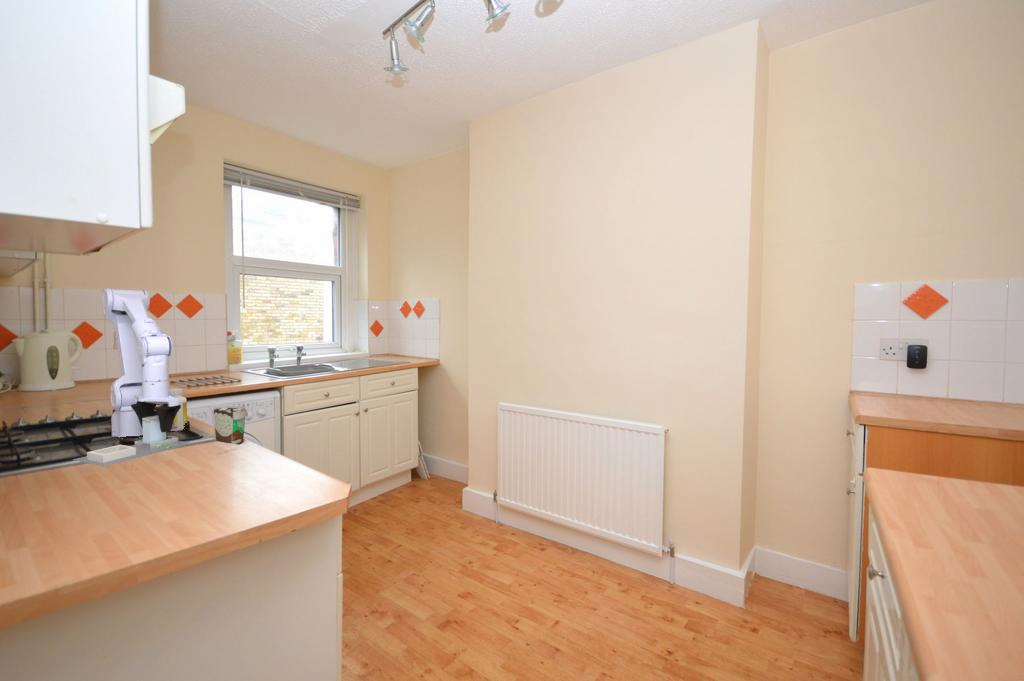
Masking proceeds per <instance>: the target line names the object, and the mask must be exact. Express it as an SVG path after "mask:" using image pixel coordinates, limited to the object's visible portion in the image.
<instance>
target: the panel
mask: <svg viewBox="0 0 1024 681" xmlns="http://www.w3.org/2000/svg"><path fill="white" fill-rule="evenodd" d="M192 444H193V442H189V441H183V440H178V444H175V445H171V448H166V447H163V448H159V449H155V450H151V451H149V450H144V449H138V448H136V455H132V456H128V457H124V458H120V459H116V460H112V461H108V462H105V463H102V462H97V461H92V460H87V455H86V456H82V457H78V458H73V459H72V461H75V462H76V461H77V462H81V463H86V464H91V465H94V466H95V465H96V466H99V467H108V466H112V465H115V464H119V463H123V462H127V461H130V460H134V459H139V458H141V457H142V458H143V457H145V456H149V455H153V454H157V453H161V452H164V451H169V450H171V449H176V448H180V447H185V446H187V445H192ZM129 446H130V447H135V444H133V445H129Z"/></svg>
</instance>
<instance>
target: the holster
mask: <svg viewBox="0 0 1024 681" xmlns="http://www.w3.org/2000/svg"><path fill="white" fill-rule="evenodd" d="M130 446H131V445H123V444H117V445H113V446H109V447H105V448H99V449H96V450H90V451H87V452H86V456H87V460H92V461H97V462H102V463H105V462H108V461H112V460H116V459H120V458H124V457H128V456H132V455H136V447H130Z"/></svg>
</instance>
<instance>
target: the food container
mask: <svg viewBox="0 0 1024 681" xmlns="http://www.w3.org/2000/svg"><path fill="white" fill-rule="evenodd" d="M211 412H212V415H213V428H214V441H215V442H219V443H220V442H221V443H224V444H225V443H226V444H232V445H238V446H240V445H242V444H244V438H245V437H244V436H245V425H246V424H245V423H246V417H248V416H249V414H248V410H247V408H246V407H245V406H241V405H220V406H213V407H212V411H211Z"/></svg>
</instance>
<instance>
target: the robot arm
mask: <svg viewBox="0 0 1024 681" xmlns="http://www.w3.org/2000/svg"><path fill="white" fill-rule="evenodd" d="M101 298H102V299H101V303H102V309H103V315H104V318H105V320H107V321H110V322H112V324H113V328H114V331H115V332H114V333H115V338H116V339H115V340H116V346H117V353H118V358H119V366H120V372H121V376H120V377H119V378H117V379H116V380H114V381H113V382H112V384H111V385H110V402H111V403H110V404H111V407H112V408H114V409H115V410H114V411H113V414H112V415H111V418H110V420H111V437H116V438H117V437H118V438H119V439H121V438H120V437H126V436H140V435H143V425H142V418H146V417H151V416H154V413H155V412H156V414H157V415H158V417H159V422H160V429H161V432H166V433H169V432H168V431H171V429H172V425H173V422H174V419H175V416H176V414H177V412H178V411H179V409H180V408H181V405H178V398H174V397H172V396H170V395H169V389H170V377H169V376H170V373H169V371H170V370H169V357H171V355H172V353H173V341H172V338H171V336H170V335H168V334H166V333H163V332H162V330H161V328H160V326H159V325H158V323H157V321H156V320H155V319H152V318H150V315H149V312H148V310H149V307H150V304H151V299H150V294H149V292H148V291H147V290H145V289H141V290H137V289H120V288H119V289H116V288H105V289H104V290H103V292H102V297H101ZM157 405H159V406H157ZM161 405H163V406H161Z"/></svg>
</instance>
